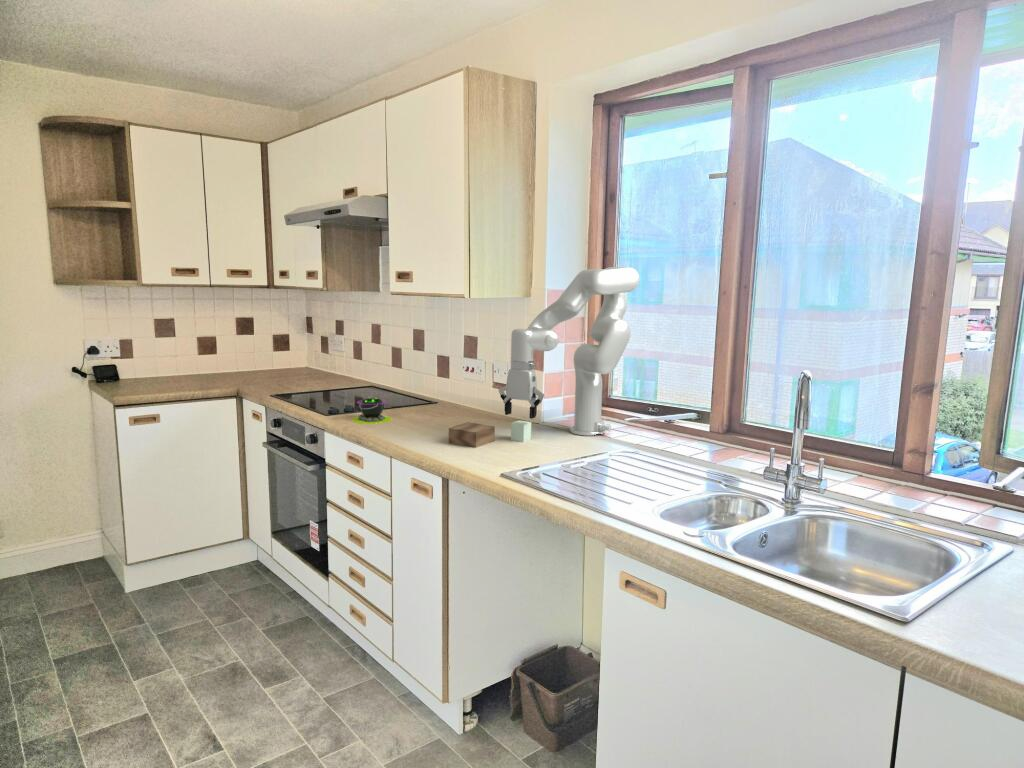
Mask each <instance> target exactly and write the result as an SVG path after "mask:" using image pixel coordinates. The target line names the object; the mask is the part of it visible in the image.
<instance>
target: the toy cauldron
mask: <svg viewBox="0 0 1024 768" xmlns="http://www.w3.org/2000/svg"><path fill="white" fill-rule="evenodd" d="M365 392H366V393H367V392H369V391H368V390H367V391H365ZM374 392H375V391H374ZM374 392H372V394H373V393H374ZM369 394H371V391H370V392H369ZM374 394H375V393H374ZM377 395H380V396H379V397H383V395H382V394H379V393H377ZM361 398H363V395H361ZM385 403H387V400H386V399H381V398H378V397H372V398H371V396H368V397H366V398H364V399H361V400H358V402H357V404H358V405H359V409H360V412H361V414H360V415H358V416H356V417H353V418H352V419H351V421H352V422H353V423H356V424H364V425H368V424H369V425H375V424H383V423H389V422H391V421H392V420H393V418H392V417H391V416H388V415H382V413H383V410H384V404H385Z"/></svg>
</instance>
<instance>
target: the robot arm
mask: <svg viewBox="0 0 1024 768" xmlns="http://www.w3.org/2000/svg"><path fill="white" fill-rule="evenodd" d="M639 283H640V275H639V272H638V271H637V270H636V269H635V268H633V267H631V266H612V267H611V266H610V267H606V268H604V269H599V268H598V269H595V268H593V269H592V268H591V269H588V268H587V269H584V270H581V271H580V272H578V273H577V274H576V276H575V277H574V278H573V280H572V281H571V282H570V283H569V285H568V286H567V287H566V289H565V290H564V291H563V292H562V294H561V295H560V296H558V299H556V300H555V301H554V302H552V303H551V304H550V305H549V306H547V307H546V308H545V309H543V310H542V311H541V312H540V313H538V315H537V316H535V318H533V320H532V322H531V323H530V324H529V325H528V326H527V328H515V329H513V330H512V331H511V334H510V336H511V340H510V344H511V345H510V368H509V369H508V371H507V376H506V384H505V385H504V386H503V387H501V388H498V393H499V395H500V398H501V400H503V401H502V402H503V403H504V415H505V416H508V415H511V414H512V405H513V404H512V403H513V402H511V401H512V400H517V401H518V400H519V401H528V403H529V404H530V407H529V419H530V420H531V419H532V420H533V419H535V418H537V414H538V413H537V411H538V410H537V408H538V406H539V405H540V404H541V403H542V401H543V399H544V397H545V394H544V393H543V392H541V391H540V390H539V389H538V381H537V379H538V378H537V373H536V370H535V368H537V364H536V363H535V362H534V351H540V352H550V351H553V350H554V349H555V348H556V347H557V346H558V343H559V337H558V334H557V333H556V332H555V331H553V330H552V329H554V328H555V327H556V326H558V325H559V324H561V323H564V322H565V321H569V320H571V319H573V318H575V317H576V316H578V315H579V313H580V312H581V311H582V309H583V308H584V306H585V305H586V304H587V303H588V302H589V300H590V299H591V297H593V296H594V295H598V296H601V295H603V301H602V305H601V307H600V309H599V311H598V314H597V315H596V317H595V319H594V321H593V323H592V325H591V327H590V330H589V335H590V338H591V340H593V341H594V342H595V343H596V344H593V343H584V344H581V345H580V346H578V347H577V348H576V350H575V351H574V354H573V366H574V367H573V368H574V373H575V374H574V375H575V388H574V389H575V391H574V423H573V424H574V425H573V426H571V427H570V428H569V432H570V433H571V434H573V435H574V434H575V435H576V436H577V435H578V436H587V437H588V436H592V437H593V436H594V435H595V436H597V435H596V434H601V433H604V432H605V433H606V431H608V432H611V430H612V425H611V424H609V423H604V421H605V420H604V419H602V406H603V405H602V404H603V378H602V375H608V374H610V373H612V372H613V371H614V370H615V369H616V367H617V366H618V364H619V362H620V360H621V358H622V356H623V354H624V352H625V350H626V347H627V346H628V344H629V341H630V338H631V327H630V325H629V323H628V322H627V321H625V319H623V318H624V316H625V314H626V311H627V308H628V302H627V296H626V293H630V292H633V291H634V290H635V289H637V288H638V285H639ZM597 343H598V344H599V345H598V344H597ZM605 433H604V434H605ZM601 435H602V434H601Z"/></svg>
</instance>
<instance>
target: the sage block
mask: <svg viewBox="0 0 1024 768" xmlns="http://www.w3.org/2000/svg"><path fill="white" fill-rule="evenodd" d="M510 426H511V427H510V441H514V442H520V443H525V442H528V441H530V440H532V421H524V420H516V421H513V422H511V423H510Z"/></svg>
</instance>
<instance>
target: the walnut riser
mask: <svg viewBox="0 0 1024 768" xmlns="http://www.w3.org/2000/svg"><path fill="white" fill-rule="evenodd" d="M495 428H496V427H495V425H491V424H490V425H489V424H481V423H475V422H469V421H468V422H467V421H466V422H465V423H462V424H458V425H454V426H452V427H448V443H449V444H453V445H460V446H466V447H470V448H479V447H481V446H483V445H487V444H489V443H492V442H495V437H496V435H495V433H496V431H495Z"/></svg>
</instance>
